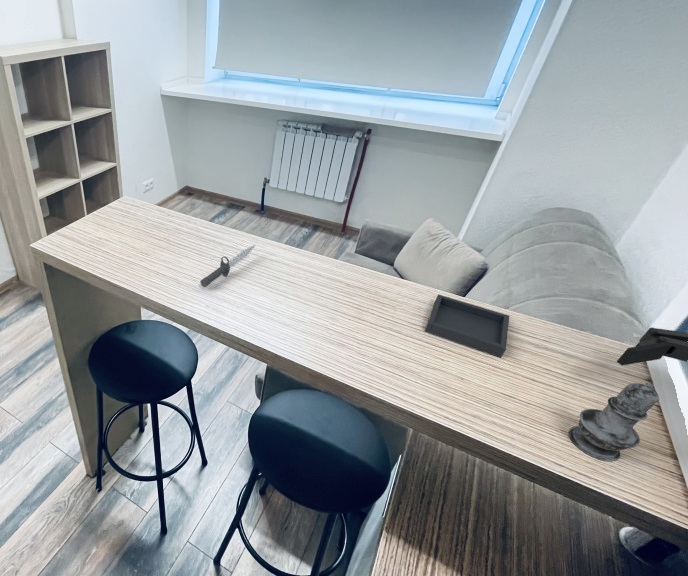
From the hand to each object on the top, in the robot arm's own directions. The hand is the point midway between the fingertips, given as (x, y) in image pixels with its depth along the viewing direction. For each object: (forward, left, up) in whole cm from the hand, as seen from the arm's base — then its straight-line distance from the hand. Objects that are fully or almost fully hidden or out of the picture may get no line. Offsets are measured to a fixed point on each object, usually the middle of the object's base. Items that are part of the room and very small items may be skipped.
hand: (681, 394), depth 51 cm
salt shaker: (+1, +8, -8) cm, 11 cm away
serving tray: (+25, +5, -8) cm, 26 cm away
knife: (+55, +39, -8) cm, 68 cm away
